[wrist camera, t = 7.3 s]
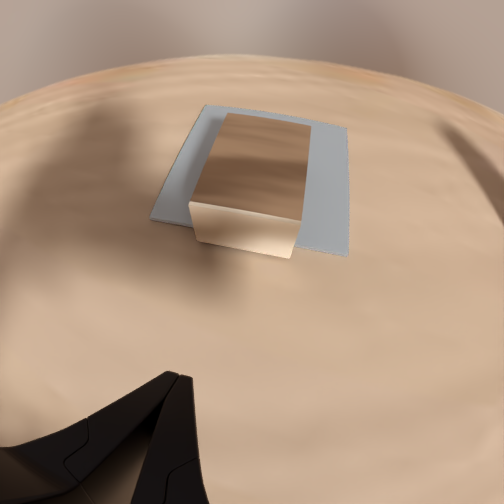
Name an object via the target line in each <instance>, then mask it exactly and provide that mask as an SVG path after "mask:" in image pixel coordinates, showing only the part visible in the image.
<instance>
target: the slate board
mask: <svg viewBox="0 0 504 504" xmlns="http://www.w3.org/2000/svg"><path fill="white" fill-rule="evenodd" d="M227 113H235V114H243V115H250V116H257V117H264V118H270V119H276V120H282V121H288V122H293V123H299V124H304V125H309V126H311V136H310V147H309V157H308V167H307V177H306V186H305V195H304V204H303V212H302V220H301V226H300V229H299V232H298V235H297V238H296V241H295V244H294V247H299V248H305V249H310V250H315V251H320V252H325V253H330V254H335V255H340V256H345V257H347V256H348V254H349V160H348V139H347V128H344V127H340V126H336V125H332V124H327V123H323V122H318V121H314V120H309V119H304V118H299V117H294V116H288V115H282V114H276V113H270V112H264V111H257V110H250V109H242V108H233V107H224V106H214V105H205V107H204V109H203V110H202V112H201V114H200V116H199V118H198V119H197V121H196V123H195V125H194V127H193V128H192V130H191V132H190V134H189V136H188V138H187V140H186V141H185V143H184V145H183V147H182V149H181V151H180V153H179V155H178V157H177V159H176V161H175V163H174V165H173V167H172V169H171V171H170V173H169V175H168V177H167V179H166V181H165V183H164V186H163V188H162V190H161V192H160V194H159V196H158V198H157V201H156V203H155V205H154V207H153V210H152V212H151V214H150V216H149V218H150V220H154V221H160V222H165V223H171V224H176V225H182V226H188V227H193V223H192V219H191V214H190V210H189V206H188V205H189V202H190V199H191V197H192V194H193V192H194V189H195V187H196V184H197V182H198V179H199V177H200V174H201V172H202V170H203V167H204V165H205V162H206V160H207V158H208V155H209V153H210V151H211V148H212V146H213V144H214V142H215V139H216V137H217V135H218V132H219V130H220V128H221V126H222V124H223V121H224V119H225V117H226V115H227ZM193 228H194V227H193Z"/></svg>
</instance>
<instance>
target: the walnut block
mask: <svg viewBox="0 0 504 504" xmlns="http://www.w3.org/2000/svg"><path fill="white" fill-rule="evenodd" d="M310 136H311V126H309V125H304V124H299V123H293V122H288V121H282V120H276V119H270V118H264V117H257V116H250V115H243V114H235V113H227V115H226V117H225V119H224V121H223V124H222V126H221V128H220V130H219V132H218V135H217V137H216V139H215V142H214V144H213V146H212V148H211V151H210V153H209V155H208V158H207V160H206V162H205V165H204V167H203V170H202V172H201V174H200V177H199V179H198V182H197V184H196V187H195V189H194V192H193V194H192V197H191V199H190V202H189V205H188V206H189V210H190V214H191V219H192V223H193V227H194V231H195V236H196V240H197V241H200V242H205V243H210V244H215V245H221V246H226V247H231V248H236V249H242V250H247V251H252V252H257V253H263V254H268V255H273V256H278V257H283V258H289V259H290V256H291V253H292V250H293V247H294V244H295V241H296V238H297V235H298V232H299V229H300V226H301V220H302V212H303V204H304V195H305V186H306V177H307V167H308V157H309V147H310Z"/></svg>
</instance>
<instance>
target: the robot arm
mask: <svg viewBox="0 0 504 504" xmlns="http://www.w3.org/2000/svg"><path fill="white" fill-rule="evenodd" d="M0 504H209V501H208V498H207V494H206V491H205V487H204V484H203V478H202V472H201V465H200V459H199V448H198V438H197V427H196V416H195V403H194V389H193V378H192V377H190V376H186V375H182V374H181V375H179V374H178V373H175V372H171V371H165V372H164V373H162V374H161V375H159V376H157V377H156V378H154V379H152V380H151V381H149V382H147V383H146V384H144V385H142V386H141V387H139V388H137V389H136V390H134V391H132V392H130V393H129V394H127V395H125V396H124V397H122V398H120V399H118V400H117V401H115V402H113V403H111V404H110V405H108V406H106V407H104V408H103V409H101V410H99V411H97V412H95V413H94V414H92V415H90V416H88V417H87V418H84V419H82V420H81V421H79V422H77V423H75V424H73V425H71V426H69V427H67V428H65V429H62V430H60V431H57V432H55V433H52V434H50V435H47V436H44V437H42V438H39V439H36V440H33V441H30V442H27V443H24V444H21V445H17V446H13V447H0Z"/></svg>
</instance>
